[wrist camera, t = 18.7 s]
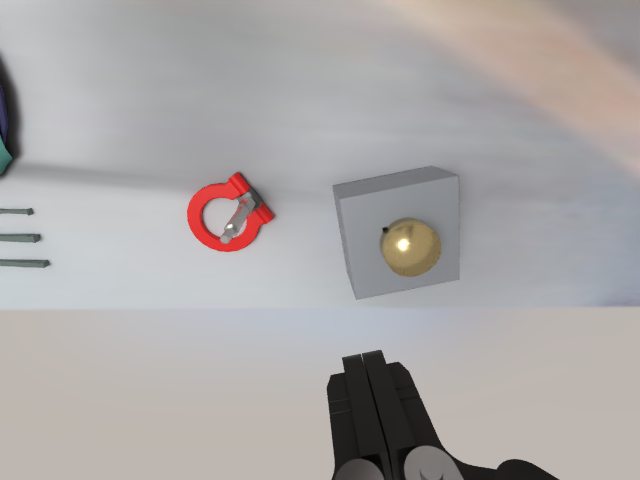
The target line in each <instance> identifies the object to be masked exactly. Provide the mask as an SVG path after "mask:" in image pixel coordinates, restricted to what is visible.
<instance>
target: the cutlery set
mask: <svg viewBox="0 0 640 480" xmlns="http://www.w3.org/2000/svg"><path fill="white" fill-rule="evenodd" d="M8 124H9V122H8V116H7V110H6V105H5V99H4V93H3V89H2V86H1V84H0V175H1V174H2V173H3V171H4V170H5V168H6V166H7V164H8V163H9V162H10V161H11V160H12V157H11V155H10V154H9V153H8V151H7V150H6V148H5V147H4V146H5V141H6V135H7V130H8ZM2 213H13V214H27V215H32V214H33V211H32V208H30V209H27V210H3V209H0V214H2ZM0 241H12V242H33V243H36V242H38V241H39V239H38V236H37V234H36V235H0ZM48 265H49V263H48V260H2V259H0V266H16V267H39V268H45V267H46V266H48Z"/></svg>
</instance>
